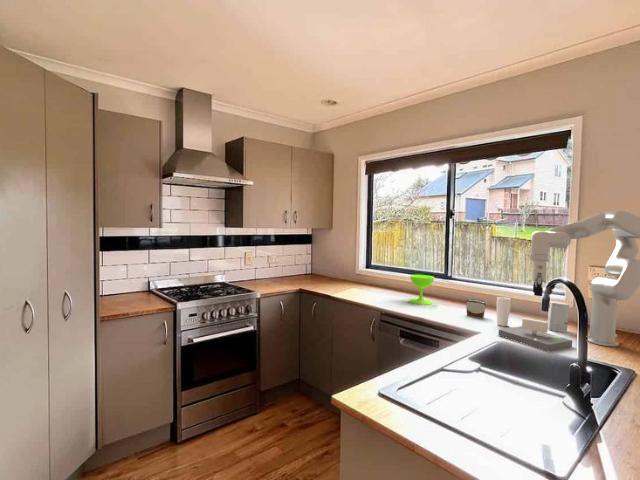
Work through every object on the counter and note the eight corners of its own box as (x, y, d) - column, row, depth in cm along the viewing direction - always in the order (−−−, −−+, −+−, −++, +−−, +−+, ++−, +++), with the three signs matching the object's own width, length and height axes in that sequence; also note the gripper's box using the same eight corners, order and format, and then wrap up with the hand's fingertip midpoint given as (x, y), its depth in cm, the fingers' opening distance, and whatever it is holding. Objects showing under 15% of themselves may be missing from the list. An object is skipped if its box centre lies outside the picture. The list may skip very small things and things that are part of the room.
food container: (489, 317, 213) (490, 300, 213) (485, 319, 209) (486, 302, 209) (468, 313, 222) (469, 297, 221) (464, 315, 217) (465, 298, 217)
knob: (521, 332, 172) (522, 318, 172) (522, 331, 174) (523, 317, 174) (559, 339, 163) (560, 325, 162) (559, 338, 165) (560, 324, 165)
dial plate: (521, 331, 185) (522, 325, 185) (572, 346, 164) (572, 340, 164) (498, 335, 177) (498, 329, 177) (548, 351, 156) (548, 344, 155)
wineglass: (437, 303, 248) (439, 277, 248) (422, 305, 239) (423, 278, 239) (419, 299, 261) (420, 274, 261) (404, 300, 252) (405, 275, 252)
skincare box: (549, 330, 190) (551, 302, 190) (546, 327, 196) (548, 300, 195) (567, 332, 187) (569, 304, 187) (564, 330, 193) (566, 302, 192)
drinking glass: (496, 322, 202) (498, 296, 201) (510, 325, 198) (512, 298, 197) (493, 325, 197) (495, 297, 196) (507, 327, 192) (509, 299, 192)
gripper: (551, 259, 159) (548, 298, 160) (547, 257, 175) (545, 292, 175) (531, 258, 163) (529, 296, 164) (529, 256, 178) (527, 290, 179)
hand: (537, 294), depth 169 cm, fingers open, 9 cm apart
